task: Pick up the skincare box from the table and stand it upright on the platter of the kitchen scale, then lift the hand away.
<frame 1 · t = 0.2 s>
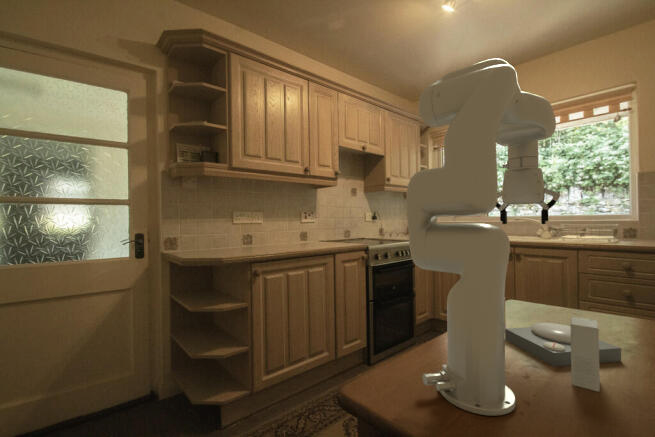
hand: (523, 224, 89), 31 cm above the table, tool pointing down, fingers open, 9 cm apart
kitchen scale: (558, 349, 75), on the table
skincare box: (584, 383, 60), on the table
supplement bottle: (492, 328, 90), on the table
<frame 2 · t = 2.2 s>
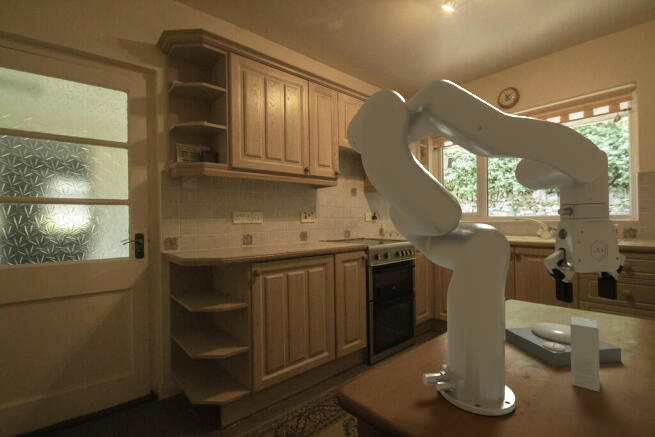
hand: (586, 299, 60), 16 cm above the table, tool pointing down, fingers open, 9 cm apart
nothing on the table moved.
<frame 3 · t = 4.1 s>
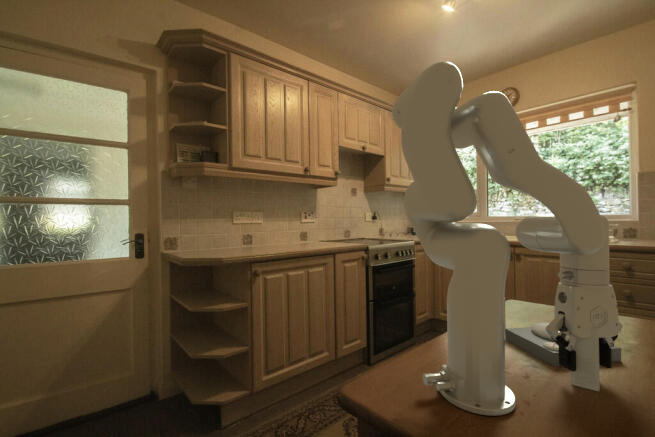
hand: (584, 365, 60), 3 cm above the table, tool pointing down, fingers closed on skincare box, 7 cm apart
skincare box: (584, 383, 60), on the table, touching gripper
everything else where it was.
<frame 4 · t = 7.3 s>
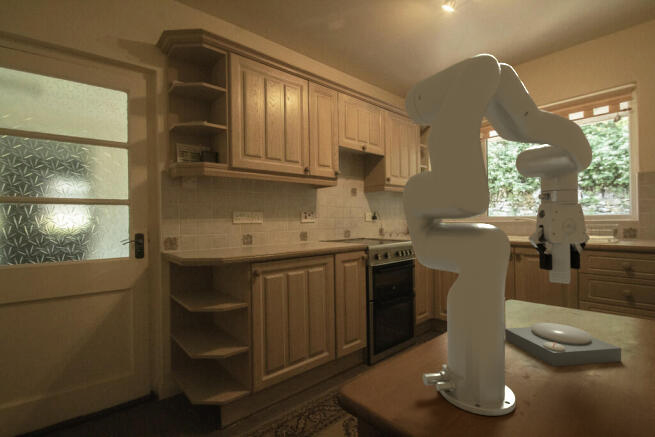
hand: (559, 268, 77), 20 cm above the table, tool pointing down, fingers closed on skincare box, 7 cm apart
skincare box: (559, 281, 76), point 16 cm above the table, touching gripper
everything else where it was.
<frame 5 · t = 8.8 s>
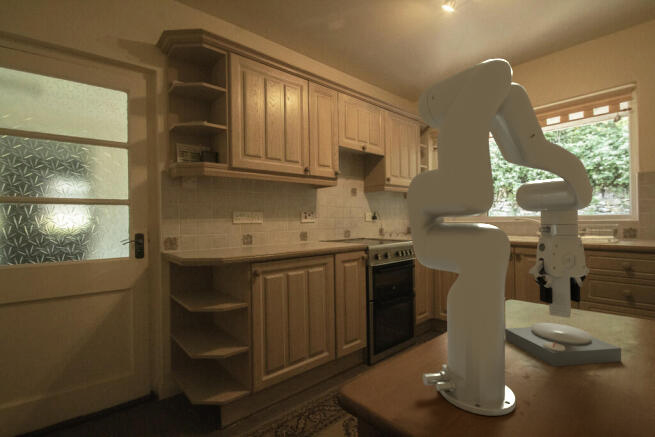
hand: (559, 301, 77), 12 cm above the table, tool pointing down, fingers closed on skincare box, 7 cm apart
skincare box: (560, 314, 77), point 8 cm above the table, touching gripper
everything else where it was.
when the fingers open (9 cm above the table, at t = 10.3 s): skincare box drops 1 cm, resting on kitchen scale.
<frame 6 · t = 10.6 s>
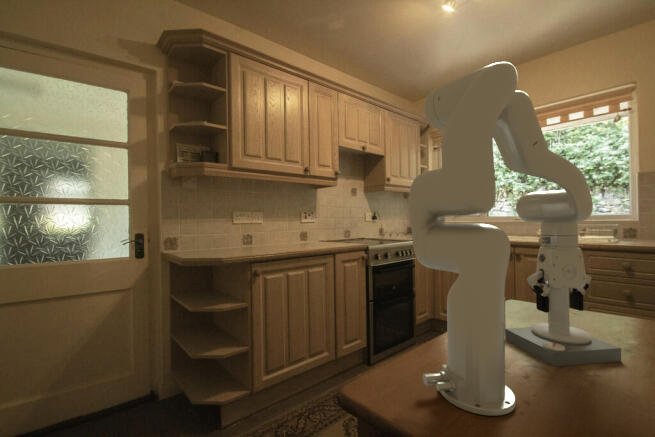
hand: (559, 310, 77), 9 cm above the table, tool pointing down, fingers open, 9 cm apart
skincare box: (558, 331, 77), point 4 cm above the table, touching kitchen scale
everything else where it was.
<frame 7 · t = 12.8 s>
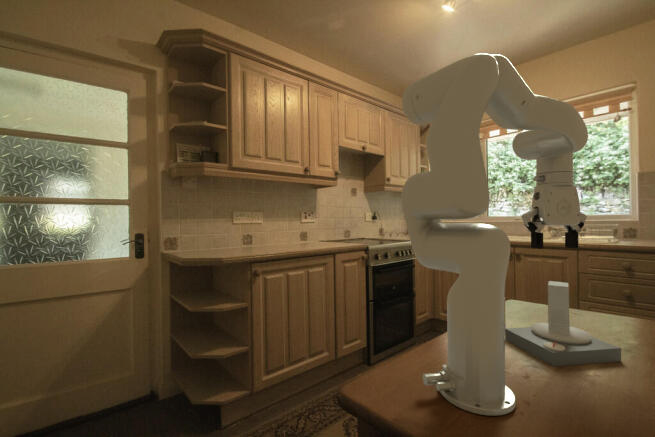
hand: (554, 248, 77), 25 cm above the table, tool pointing down, fingers open, 9 cm apart
nothing on the table moved.
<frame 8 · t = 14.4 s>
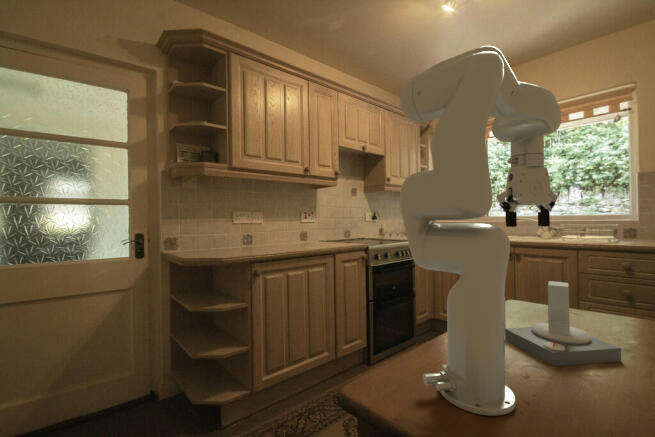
hand: (527, 226, 82), 30 cm above the table, tool pointing down, fingers open, 9 cm apart
nothing on the table moved.
at the end: skincare box inside the target area on the kitchen scale (0.4 cm from its centre), point 3.8 cm above the kitchen scale's base; skincare box tilted 0°; the gripper is holding nothing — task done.
